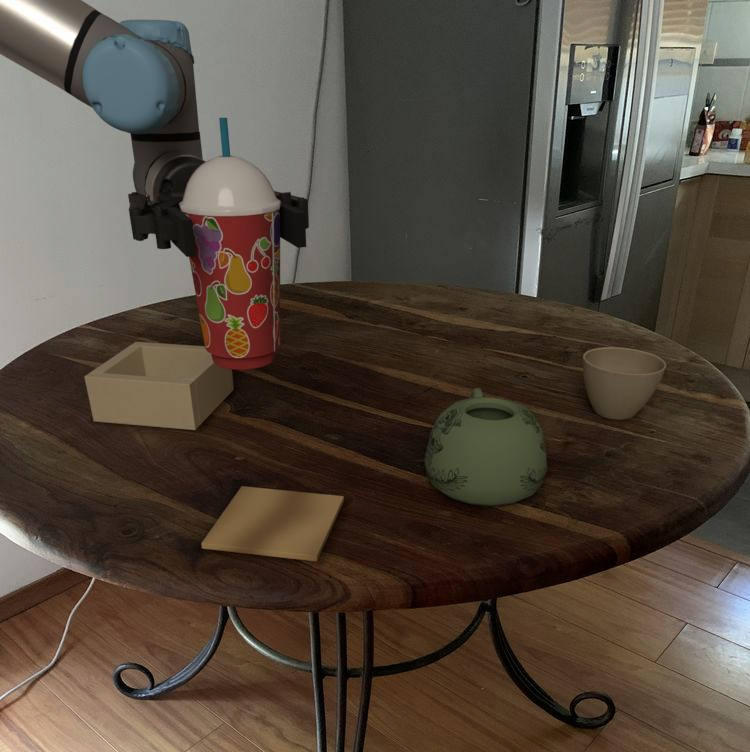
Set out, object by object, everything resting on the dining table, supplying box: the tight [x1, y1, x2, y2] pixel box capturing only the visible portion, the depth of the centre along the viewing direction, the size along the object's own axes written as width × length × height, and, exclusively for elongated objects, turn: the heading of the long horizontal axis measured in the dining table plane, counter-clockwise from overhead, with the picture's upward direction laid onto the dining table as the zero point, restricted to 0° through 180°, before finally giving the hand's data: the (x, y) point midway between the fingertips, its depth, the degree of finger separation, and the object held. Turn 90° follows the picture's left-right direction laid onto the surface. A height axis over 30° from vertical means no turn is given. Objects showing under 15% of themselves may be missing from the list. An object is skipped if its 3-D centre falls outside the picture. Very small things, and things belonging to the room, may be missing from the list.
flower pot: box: [582, 346, 667, 421], centre depth 94 cm, size 10×10×7 cm
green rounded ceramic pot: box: [423, 387, 548, 508], centre depth 78 cm, size 16×13×9 cm
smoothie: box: [179, 117, 281, 371], centre depth 63 cm, size 8×8×20 cm
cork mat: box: [201, 485, 345, 562], centre depth 72 cm, size 11×11×1 cm
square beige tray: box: [84, 341, 235, 431], centre depth 95 cm, size 14×14×6 cm
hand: (246, 234), depth 58 cm, fingers closed on smoothie, 8 cm apart
